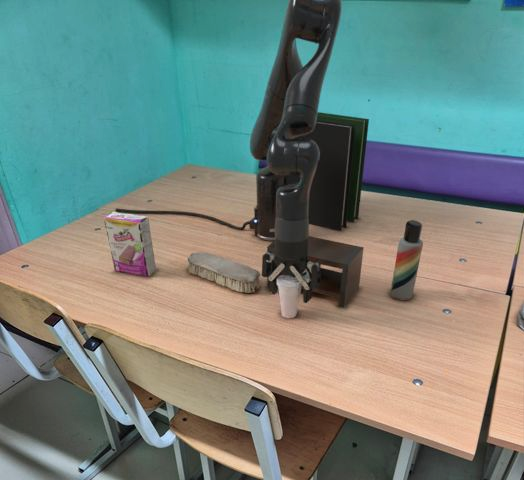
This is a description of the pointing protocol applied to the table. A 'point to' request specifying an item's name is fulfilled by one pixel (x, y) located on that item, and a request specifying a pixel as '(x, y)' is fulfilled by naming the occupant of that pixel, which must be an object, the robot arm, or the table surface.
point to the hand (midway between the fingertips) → (290, 297)
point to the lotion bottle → (407, 261)
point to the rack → (332, 256)
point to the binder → (336, 170)
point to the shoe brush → (224, 272)
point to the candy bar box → (130, 243)
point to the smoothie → (289, 295)
